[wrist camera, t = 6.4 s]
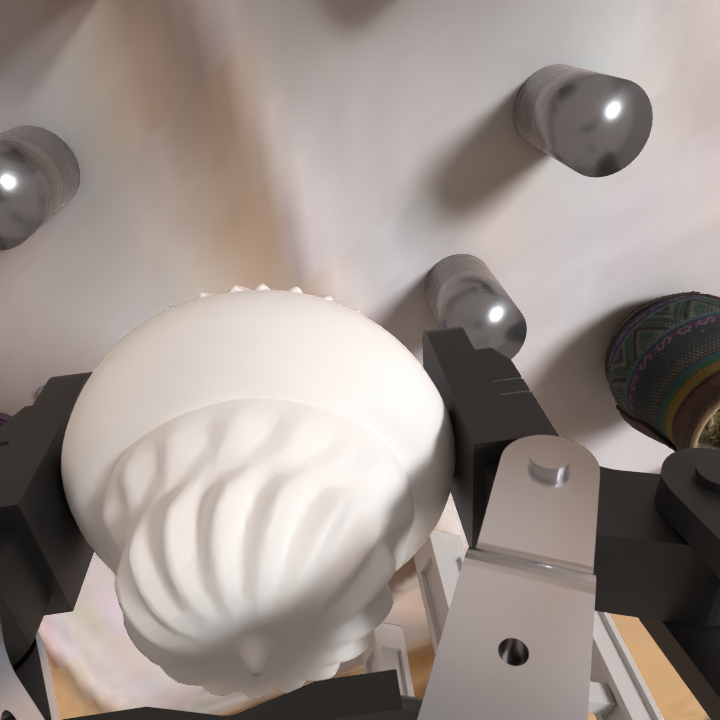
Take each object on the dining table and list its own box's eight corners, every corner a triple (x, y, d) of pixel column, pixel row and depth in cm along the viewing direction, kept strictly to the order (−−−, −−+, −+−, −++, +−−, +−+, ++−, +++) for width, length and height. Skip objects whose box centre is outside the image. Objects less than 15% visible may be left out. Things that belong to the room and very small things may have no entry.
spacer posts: (632, -339, 18) (736, -441, 14) (570, 301, 30) (618, 352, 25) (-178, -266, 18) (-329, -351, 13) (73, 366, 29) (36, 430, 25)
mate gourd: (629, 258, 29) (772, 367, 20) (757, 293, 31) (938, 407, 22) (563, 382, 32) (661, 520, 24) (681, 407, 34) (812, 545, 25)
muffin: (151, 483, 14) (53, 837, 8) (81, 229, 11) (-164, 502, 5) (413, 458, 15) (502, 777, 9) (418, 208, 11) (563, 435, 5)
